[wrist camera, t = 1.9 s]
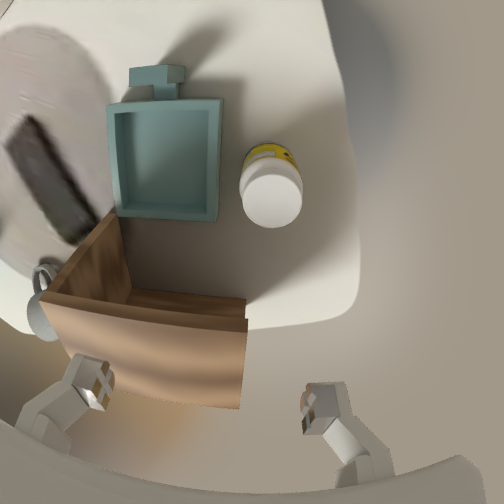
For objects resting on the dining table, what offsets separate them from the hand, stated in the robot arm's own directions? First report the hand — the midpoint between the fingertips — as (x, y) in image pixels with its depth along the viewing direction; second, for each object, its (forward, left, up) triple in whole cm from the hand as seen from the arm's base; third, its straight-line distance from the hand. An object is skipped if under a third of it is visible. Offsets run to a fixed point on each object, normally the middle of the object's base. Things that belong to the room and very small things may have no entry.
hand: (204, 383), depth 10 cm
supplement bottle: (-2, +3, -20) cm, 20 cm away
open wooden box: (+10, -6, -20) cm, 23 cm away
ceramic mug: (+17, -26, -20) cm, 37 cm away
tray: (-4, -7, -20) cm, 21 cm away
